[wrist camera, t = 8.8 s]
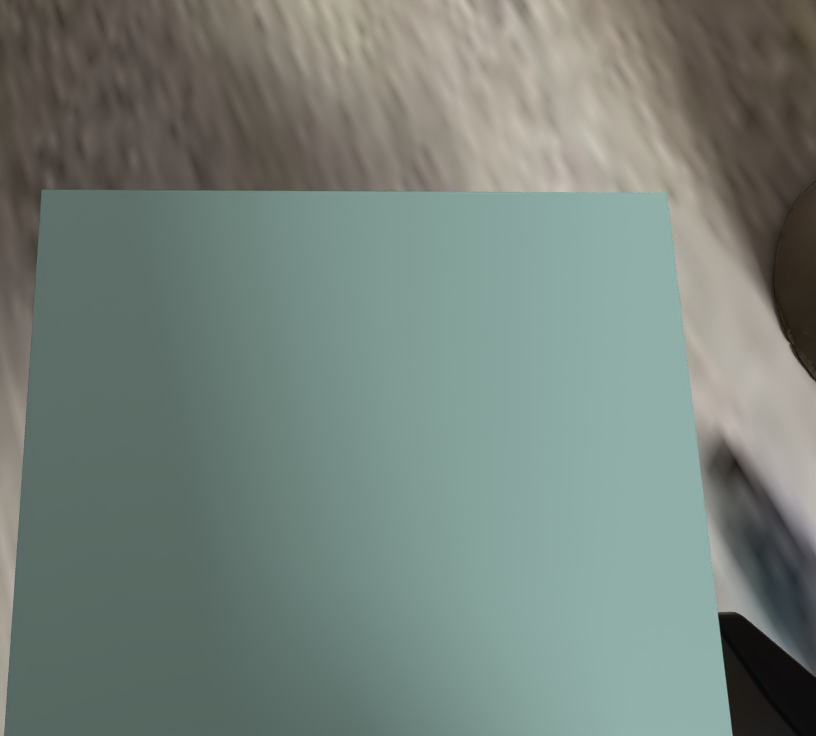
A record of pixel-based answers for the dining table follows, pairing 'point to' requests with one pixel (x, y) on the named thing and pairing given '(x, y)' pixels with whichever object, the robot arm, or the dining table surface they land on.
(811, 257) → the pillar candle
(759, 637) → the robot arm
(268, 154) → the dining table surface
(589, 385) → the pillar
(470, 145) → the dining table surface
